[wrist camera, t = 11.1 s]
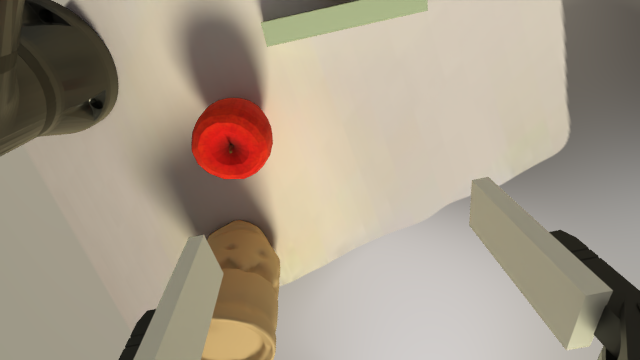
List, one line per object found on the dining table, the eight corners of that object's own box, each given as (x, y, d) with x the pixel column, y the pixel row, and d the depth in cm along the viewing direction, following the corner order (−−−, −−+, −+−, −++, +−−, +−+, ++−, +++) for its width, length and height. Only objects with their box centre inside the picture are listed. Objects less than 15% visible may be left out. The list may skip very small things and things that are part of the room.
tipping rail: (269, 43, 37) (267, 46, 35) (263, 21, 36) (261, 23, 33) (418, 9, 36) (427, 10, 34) (417, -14, 35) (427, -15, 33)
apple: (238, 160, 44) (223, 202, 35) (194, 111, 41) (164, 143, 31) (288, 127, 43) (286, 162, 33) (247, 71, 39) (232, 94, 29)
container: (191, 254, 53) (147, 360, 37) (233, 206, 48) (204, 303, 33) (252, 285, 57) (237, 391, 42) (296, 244, 53) (296, 345, 38)
